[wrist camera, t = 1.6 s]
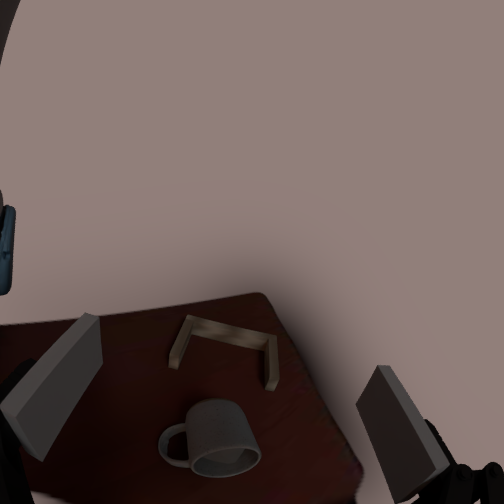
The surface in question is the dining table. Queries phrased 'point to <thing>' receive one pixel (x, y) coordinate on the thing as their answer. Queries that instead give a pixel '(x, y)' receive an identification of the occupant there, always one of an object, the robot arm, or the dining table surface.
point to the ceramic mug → (215, 439)
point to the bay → (229, 336)
